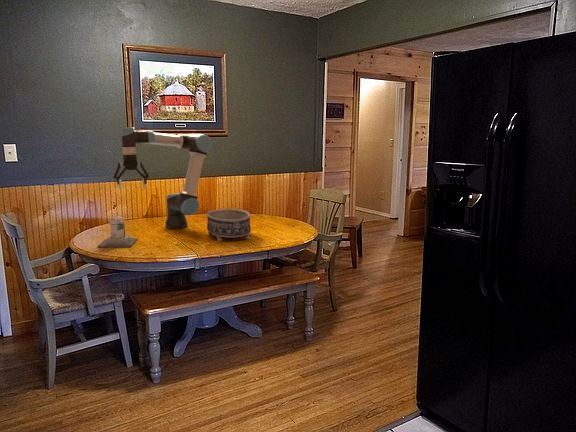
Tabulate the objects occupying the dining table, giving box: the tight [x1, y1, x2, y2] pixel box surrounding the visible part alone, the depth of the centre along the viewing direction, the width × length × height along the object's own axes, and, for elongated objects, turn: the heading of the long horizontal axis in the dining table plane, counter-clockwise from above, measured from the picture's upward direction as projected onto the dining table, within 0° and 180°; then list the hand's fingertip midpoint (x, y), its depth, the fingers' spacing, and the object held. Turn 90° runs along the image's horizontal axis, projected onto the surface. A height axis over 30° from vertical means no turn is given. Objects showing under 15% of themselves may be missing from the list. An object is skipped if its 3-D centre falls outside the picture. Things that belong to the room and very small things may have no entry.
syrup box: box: [109, 215, 126, 238], centre depth 256 cm, size 6×6×14 cm
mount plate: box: [97, 233, 139, 249], centre depth 258 cm, size 18×18×4 cm
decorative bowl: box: [206, 208, 252, 242], centre depth 280 cm, size 42×27×15 cm, turn 23°
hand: (132, 189), depth 266 cm, fingers open, 13 cm apart
